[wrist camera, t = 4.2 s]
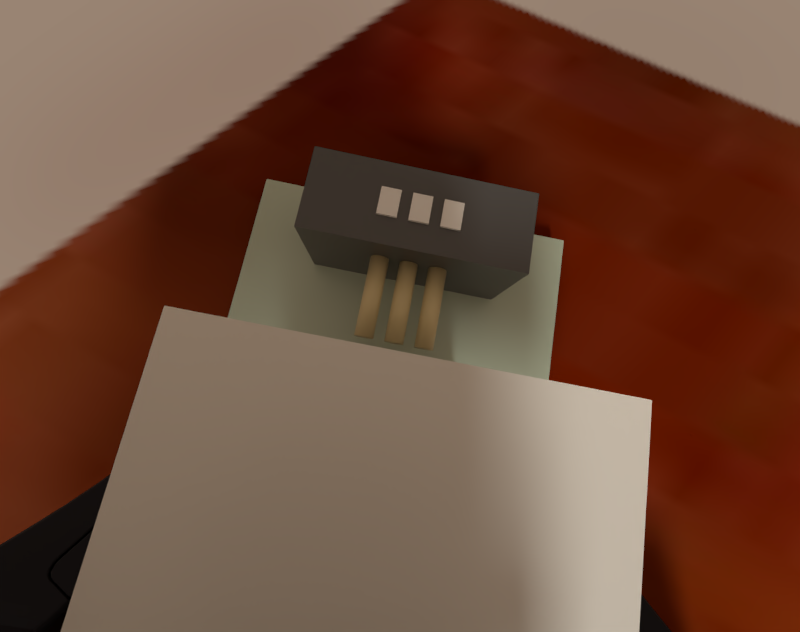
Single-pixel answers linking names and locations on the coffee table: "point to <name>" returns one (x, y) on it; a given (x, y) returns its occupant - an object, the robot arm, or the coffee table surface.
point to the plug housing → (362, 494)
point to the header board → (404, 264)
